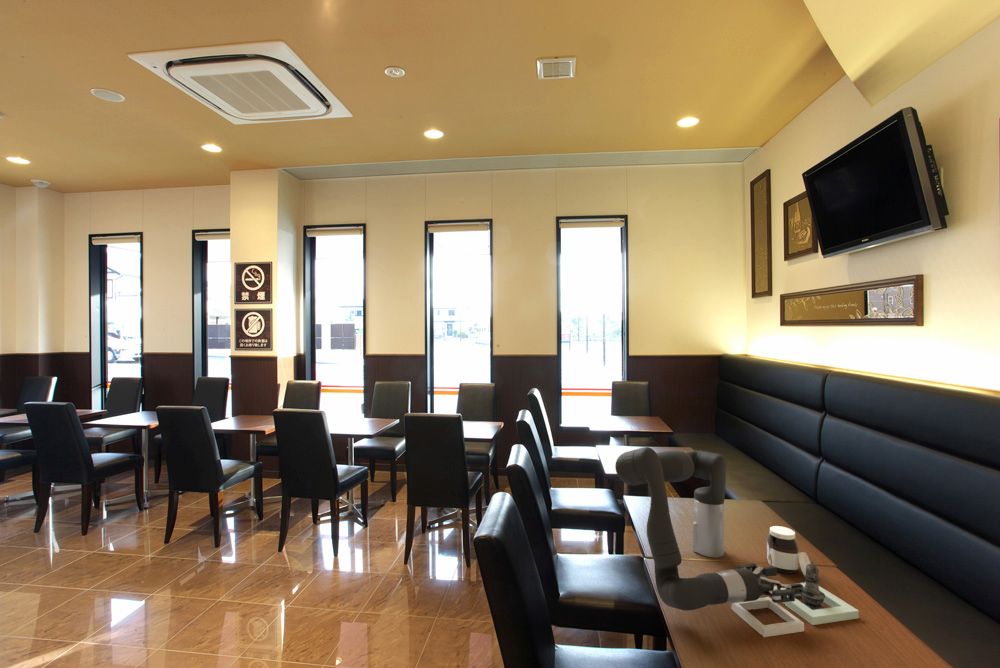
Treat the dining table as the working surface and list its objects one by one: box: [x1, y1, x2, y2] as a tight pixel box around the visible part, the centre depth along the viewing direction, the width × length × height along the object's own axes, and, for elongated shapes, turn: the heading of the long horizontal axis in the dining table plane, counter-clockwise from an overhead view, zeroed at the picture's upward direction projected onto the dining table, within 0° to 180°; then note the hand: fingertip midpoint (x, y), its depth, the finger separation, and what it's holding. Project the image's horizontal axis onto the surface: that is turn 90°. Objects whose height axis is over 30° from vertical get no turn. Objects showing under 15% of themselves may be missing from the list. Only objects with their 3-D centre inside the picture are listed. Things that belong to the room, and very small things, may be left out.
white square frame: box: [730, 596, 805, 638], centre depth 118 cm, size 11×11×2 cm
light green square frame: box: [774, 581, 860, 626], centre depth 124 cm, size 14×14×2 cm
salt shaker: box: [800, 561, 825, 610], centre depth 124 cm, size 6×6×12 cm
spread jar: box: [766, 525, 811, 577], centre depth 142 cm, size 12×11×12 cm
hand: (788, 579), depth 122 cm, fingers open, 8 cm apart
